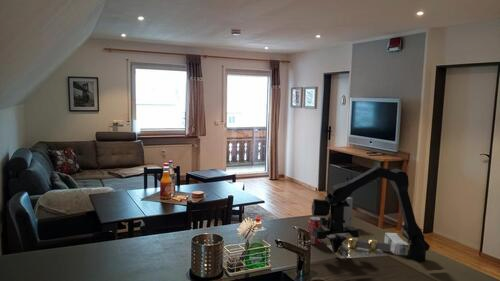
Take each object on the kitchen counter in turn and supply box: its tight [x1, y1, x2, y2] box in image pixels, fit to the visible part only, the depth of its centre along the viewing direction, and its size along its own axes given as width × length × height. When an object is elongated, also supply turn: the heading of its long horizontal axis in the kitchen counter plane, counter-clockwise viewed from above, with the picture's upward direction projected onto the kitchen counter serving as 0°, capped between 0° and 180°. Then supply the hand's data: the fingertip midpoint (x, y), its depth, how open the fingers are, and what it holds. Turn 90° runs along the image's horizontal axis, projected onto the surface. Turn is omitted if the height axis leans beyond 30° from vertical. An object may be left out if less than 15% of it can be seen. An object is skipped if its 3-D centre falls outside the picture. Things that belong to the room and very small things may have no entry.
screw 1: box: [337, 241, 349, 256], centre depth 156 cm, size 9×4×4 cm, turn 12°
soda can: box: [306, 215, 324, 245], centre depth 169 cm, size 7×7×12 cm
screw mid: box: [347, 236, 370, 249], centre depth 162 cm, size 9×4×4 cm, turn 66°
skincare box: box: [343, 196, 354, 229], centre depth 194 cm, size 8×7×16 cm
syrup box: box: [383, 232, 409, 256], centre depth 164 cm, size 6×6×14 cm
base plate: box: [326, 243, 389, 259], centre depth 160 cm, size 14×22×1 cm, turn 102°
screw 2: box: [367, 238, 391, 252], centre depth 161 cm, size 9×4×4 cm, turn 68°
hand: (334, 252), depth 153 cm, fingers closed
